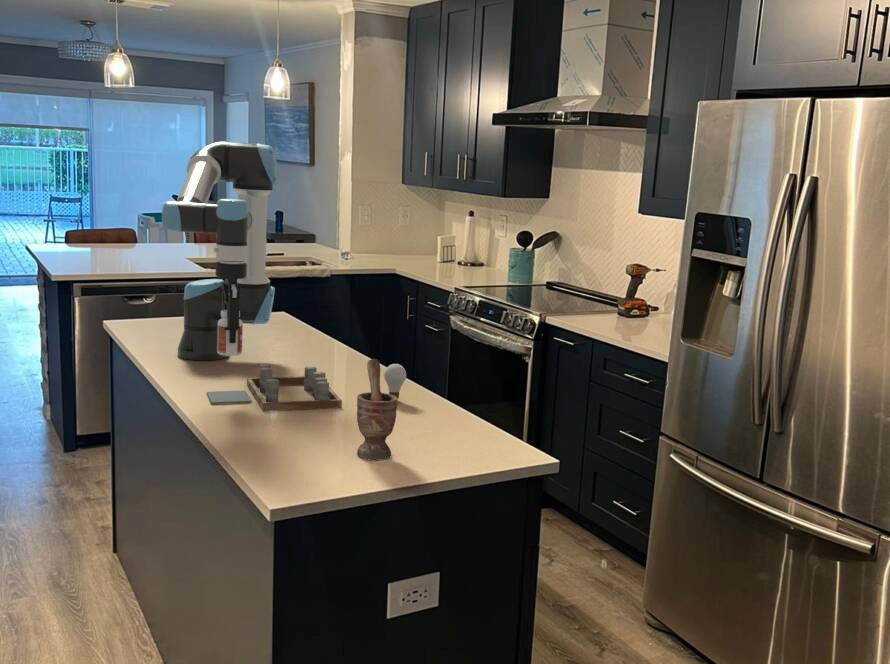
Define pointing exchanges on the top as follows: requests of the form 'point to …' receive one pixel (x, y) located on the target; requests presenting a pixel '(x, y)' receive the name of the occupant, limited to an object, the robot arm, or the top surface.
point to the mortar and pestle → (375, 416)
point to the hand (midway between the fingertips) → (229, 352)
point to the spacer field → (310, 380)
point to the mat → (228, 397)
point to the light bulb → (395, 378)
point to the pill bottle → (222, 334)
